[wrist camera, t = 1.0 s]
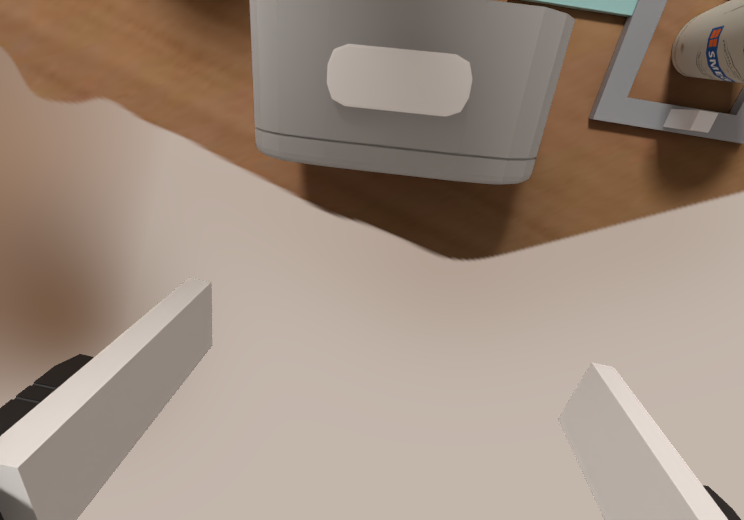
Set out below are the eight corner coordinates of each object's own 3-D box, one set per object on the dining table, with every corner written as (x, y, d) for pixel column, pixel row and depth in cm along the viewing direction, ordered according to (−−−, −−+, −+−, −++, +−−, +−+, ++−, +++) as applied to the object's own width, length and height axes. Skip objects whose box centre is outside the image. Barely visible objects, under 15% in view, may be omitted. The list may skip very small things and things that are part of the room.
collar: (662, -74, 26) (703, -102, 22) (845, -46, 25) (918, -70, 22) (588, 118, 31) (612, 121, 28) (738, 143, 31) (782, 149, 27)
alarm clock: (288, 137, 34) (222, 160, 22) (287, 20, 30) (206, -31, 18) (504, 161, 33) (559, 198, 21) (533, 43, 29) (621, 6, 17)
